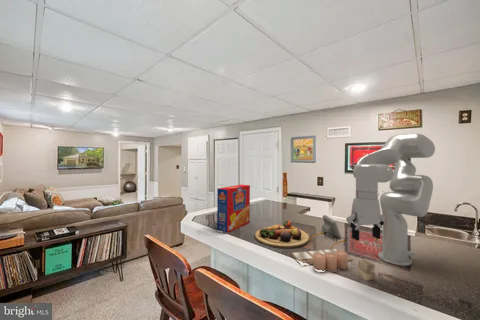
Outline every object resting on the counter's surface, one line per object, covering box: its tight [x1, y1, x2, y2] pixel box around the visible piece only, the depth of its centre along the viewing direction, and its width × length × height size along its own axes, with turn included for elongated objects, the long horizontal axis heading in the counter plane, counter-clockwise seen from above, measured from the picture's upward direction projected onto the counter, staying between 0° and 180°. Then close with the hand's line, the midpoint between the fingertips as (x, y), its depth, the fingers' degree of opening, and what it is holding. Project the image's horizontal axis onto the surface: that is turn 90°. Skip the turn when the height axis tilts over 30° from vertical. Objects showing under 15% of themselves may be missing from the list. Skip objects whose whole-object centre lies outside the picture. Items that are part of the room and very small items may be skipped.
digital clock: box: [321, 214, 342, 239], centre depth 131 cm, size 16×9×11 cm, turn 168°
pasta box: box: [216, 184, 251, 234], centre depth 145 cm, size 28×8×28 cm, turn 147°
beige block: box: [357, 259, 376, 282], centre depth 83 cm, size 4×4×6 cm
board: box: [289, 248, 354, 264], centre depth 100 cm, size 26×12×1 cm, turn 102°
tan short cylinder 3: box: [335, 249, 349, 270], centre depth 91 cm, size 5×5×6 cm
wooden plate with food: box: [254, 219, 310, 250], centre depth 126 cm, size 32×32×8 cm
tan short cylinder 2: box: [324, 252, 338, 272], centre depth 89 cm, size 5×5×6 cm
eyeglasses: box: [309, 231, 347, 249], centre depth 117 cm, size 14×14×4 cm
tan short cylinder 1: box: [312, 253, 327, 271], centre depth 89 cm, size 5×5×6 cm
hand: (366, 238), depth 83 cm, fingers open, 9 cm apart
